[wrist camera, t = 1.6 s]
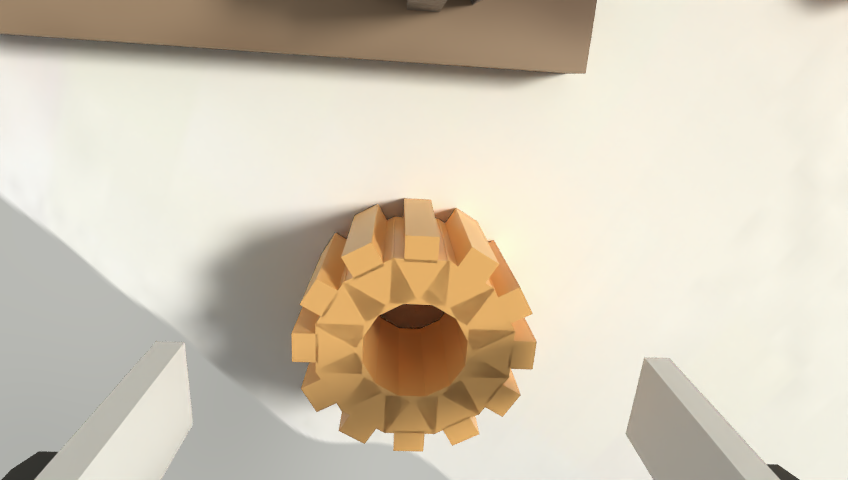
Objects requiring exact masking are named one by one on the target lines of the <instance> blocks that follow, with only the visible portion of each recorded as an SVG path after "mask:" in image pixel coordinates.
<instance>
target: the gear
mask: <svg viewBox="0 0 848 480" xmlns="http://www.w3.org/2000/svg"><path fill="white" fill-rule="evenodd" d="M446 1H447V0H407V10H416V11H429V12H440V11H441V9H442V8H443V6H444V5H445V3H446ZM470 1H471V3H472V5H474V4H476V3H478V2H480V1H481V0H470Z"/></svg>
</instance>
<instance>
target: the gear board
mask: <svg viewBox="0 0 848 480" xmlns="http://www.w3.org/2000/svg"><path fill="white" fill-rule="evenodd" d="M596 3H597V0H481V1H480V2H478V3H476V4H474V5H472V3H471V1H470V0H447V1H446V3H445V5H444V6H443V8H442V9H441V11H440V12H429V11H416V10H407V0H0V34H7V35H22V36H36V37H50V38H65V39H79V40H94V41H108V42H122V43H137V44H151V45H165V46H180V47H194V48H208V49H223V50H237V51H252V52H266V53H280V54H295V55H309V56H323V57H338V58H352V59H367V60H381V61H395V62H410V63H424V64H438V65H453V66H467V67H481V68H496V69H510V70H525V71H539V72H553V73H586V67H587V60H588V54H589V47H590V41H591V35H592V28H593V22H594V16H595V9H596Z"/></svg>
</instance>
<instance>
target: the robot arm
mask: <svg viewBox="0 0 848 480" xmlns="http://www.w3.org/2000/svg"><path fill="white" fill-rule="evenodd" d="M190 399H191V398H190V389H189V379H188V370H187V360H186V350H185V342H167V341H156V342H155V343H154V344H153V345H152V346H151V347H150V349H149V350H148V351H147V352H146V353H145V354H144V356H143V357H142V358H141V359H140V360H139V361H138V362H137V363H136V365H135V366H134V367H133V368H132V369H131V370H130V372H129V373H128V374H127V375H126V376H125V377H124V378H123V380H121V382H120V383H119V384H118V385H117V386H116V388H114V390H113V391H112V392H111V393H110V394H109V395H108V396H107V398H106V399H105V400H104V401H103V402H102V403H101V404H100V405H99V407H98V408H97V409H96V410H95V411H94V413H92V415H91V416H90V417H89V418H88V419H87V420H86V421H85V423H84V424H83V425H82V426H81V427H80V428H79V429H78V431H77V432H76V433H75V434H74V435H73V436H72V437H71V438H70V440H69V441H68V442H67V443H66V444H65V445H64V447H63V448H62V449H61V450H60V451H59V452H37V453H36V454H34V455H33V456H31V457H30V458H28V459H27V460H25V461H24V462H22V463H20V464H19V465H17V466H16V467H14V468H13V469H11V470H10V471H9V472H8V474H7V475H6V476H5V477H4V478H3V479H2V480H161V479H162V477H163V476H164V474H165V472H166V470H167V469H168V467H169V465H170V463H171V462H172V460H173V458H174V456H175V455H176V453H177V451H178V450H179V448H180V446H181V444H182V442H183V441H184V439H185V437H186V436H187V434H188V432H189V430H190V429H191V427H192V425H193V417H192V408H191V400H190ZM626 435H627V437H628V439H629V440H630V442H631V443H632V445H633V447H634V448H635V450H636V452H637V453H638V455H639V457H640V458H641V460H642V462H643V463H644V465H645V467H646V468H647V470H648V471H649V473H650V475H651V476H652V478H653V480H799V479H798V478H796V477H795V476H793V475H792V474H790V473H789V472H788V471H786V470H785V469H783V468H782V467H780V466H779V465H774V464H766V463H765V462H764V461H763V460H762V459H761V458H760V457H759V456H758V455H757V454H756V452H755V451H754V450H753V449H752V448H751V447H750V446H749V445H748V444H747V443H746V442H745V440H744V439H743V438H742V437H741V436H740V435H739V434H738V433H737V432H736V431H735V429H734V428H733V427H732V426H731V425H730V424H729V423H728V422H727V421H726V420H725V418H724V417H723V416H722V415H721V414H720V413H719V412H718V411H717V410H716V409H715V408H714V406H713V405H712V404H711V403H710V402H709V401H708V400H707V399H706V398H705V397H704V395H703V394H702V393H701V392H700V391H699V390H698V389H697V388H696V387H695V386H694V384H693V383H692V382H691V381H690V380H689V379H688V378H687V377H686V376H685V375H684V374H683V372H682V371H681V370H680V369H679V368H678V367H677V366H676V365H675V364H674V363H673V361H672V360H671V359H670V358H647V357H644V361H643V365H642V369H641V373H640V377H639V382H638V386H637V390H636V394H635V398H634V402H633V406H632V410H631V414H630V419H629V423H628V427H627V431H626Z"/></svg>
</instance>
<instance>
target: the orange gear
mask: <svg viewBox="0 0 848 480" xmlns="http://www.w3.org/2000/svg"><path fill="white" fill-rule="evenodd" d="M402 304H419V305H433V306H435V307H437V308H438V309H440V310H442V311H444V312H445V313H444V314H443V316H442V317H441V319H440V320H438V321H436V322H434V323H432V324H430V325H428V326H425V327H423V328H421V329H409V328H398V327H396V326H394V325H392V324H391V323H389V322H387V321H385V320H384V319H382V318H380V316H379V315H381V314H383V313H385V312H388V311H390V310H392V309H394V308H396V307H398V306H400V305H402ZM300 305H301V306H303V307H302V309H301V312H300V314H299V316H298V319H297V321H296V324H295V326H294V328H293V331H292V333H291V336H292V362H309V365H308V368H307V371H306V374H305V377H304V380H303V384H302V387H301V390H302V391H303V393H304V394H305V396H306V397H307V398H308V400H309V401H310V403H311V404H312V406H313V407H314V409H315V410H316V412H318V411H320V410H322V409H324V408H327V407H329V406H331V405H333V404H335V403H337V405H338V406H339V408H340V409H341V411H342V414H341V420H340V426H339V431H340V432H342V433H344V434H346V435H348V436H350V437H352V438H354V439H356V440H358V441H360V442H362V443H364V444H365V443H366V441H367V440H368V439H369V437H370V436H371V435H372V433H373V432H374V431H375V429H378V430H380V431H382V432H384V433H394V449H393V450H394V451H423V446H424V434H435V433H437V432H440V431H442V430H443V431H444V432H445V434H446V436H447V437H448V439H449V441H450V443H451V444H452V446H453V445H455V444H457V443H460V442H462V441H464V440H467V439H469V438H471V437H473V436H476V435H478V434H479V431H478V426H477V422H476V417H475V416H476V415H479V414H480V412H481V411H482V410H483V409H484V408H485V407H486V408H488V409H490V410H491V411H493V412H495V413H497V414H499V415H500V416H502V417H503V416H504V414H505V413H506V412H507V411H508V410H509V408H510V407H511V406H512V405H513V404H514V402H515V401H516V400H517V399H518V398H519V396H520V392H519V389H518V387H517V384H516V381H515V379H514V376H513V373H512V371H511V369H533V362H534V356H535V349H536V340H535V338H534V336H533V334H532V332H531V330H530V328H529V326H528V324H527V322H526V320H525V318H524V317H526V316H529V315H531V314H532V311H531V309H530V307H529V305H528V303H527V301H526V299H525V297H524V295H523V292H522V290H521V288H520V286H519V284H518V283H517V281H516V279H515V277H514V276H513V274H512V272H511V270H510V268H509V267H508V265H507V263H506V261H505V259H504V258H503V256H502V254H501V252H500V251H499V249H498V247H497V245H496V243H495V242H494V240H493V241H491V242H489V243H488V241H487V239H486V237H485V235H484V234H483V232H482V230H481V228H480V226H479V224H478V222H477V221H476V220H474V219H473V218H471V217H469V216H468V215H466V214H465V213H463V212H462V211H460V210H459V209H457V208H455V210H454V211H453V213H452V214H451V216H450V217H449V218H448V220H447V221H446V223H444V222H442V221H441V220H439V219H438V218H437V219H435V215H434V211H433V207H432V202H431V200H426V199H407V198H404V214H403V217H396V216H395V217H393V218H391V219H389V220H387V219H386V218H385V216H384V214H383V212H382V210H381V208H380V206H379V205H378V204H377V205H375V206H373V207H371V208H368V209H366V210H364V211H362V212H360V213H358V214H356V215H355V216H354V219H353V222H352V225H351V228H350V231H349V234H348V237H347V239H345V238H344V237H342V236H340V235H339V234H337V233H335V234H334V235H333V237H332V239H331V240H330V242H329V243H328V245H327V246H326V248H325V249H324V251H323V253H322V255H321V257H320V259H319V261H318V264H317V266H316V268H315V271H314V273H313V275H312V278H311V280H310V282H309V284H308V287H307V289H306V291H305V294H304V296H303V298H302V300H301V303H300Z"/></svg>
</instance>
